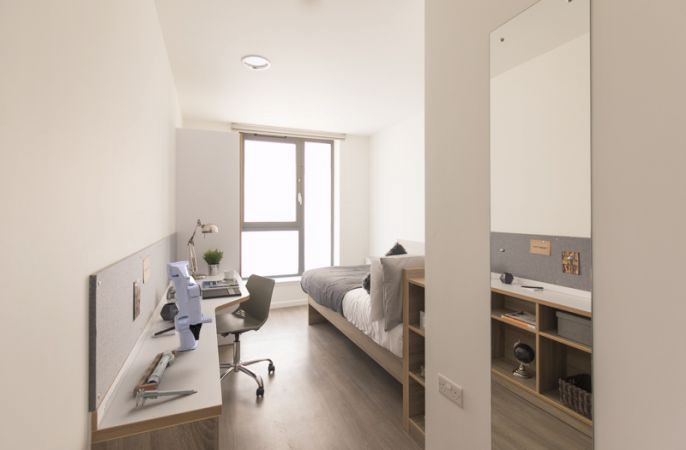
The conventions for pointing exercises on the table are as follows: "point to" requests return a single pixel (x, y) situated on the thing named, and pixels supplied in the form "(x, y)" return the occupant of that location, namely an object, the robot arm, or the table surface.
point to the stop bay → (147, 374)
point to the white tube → (161, 367)
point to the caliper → (160, 394)
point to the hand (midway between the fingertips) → (197, 339)
